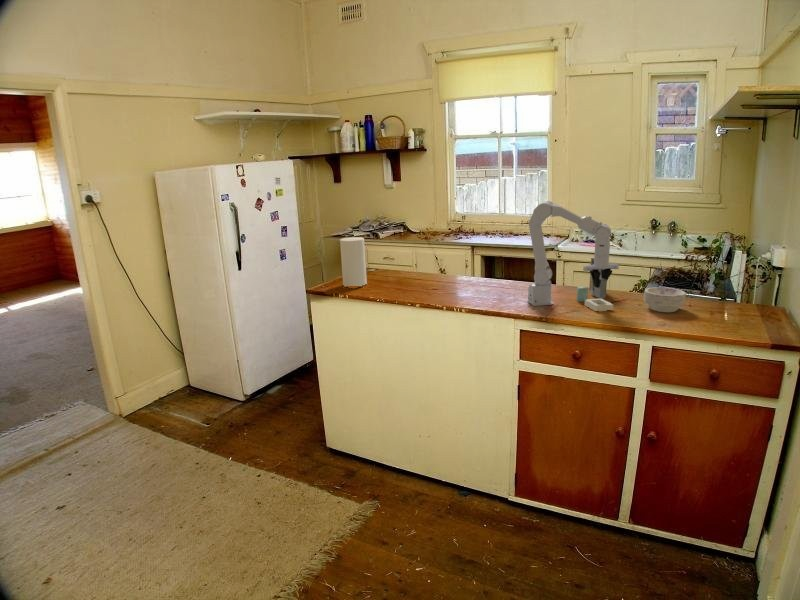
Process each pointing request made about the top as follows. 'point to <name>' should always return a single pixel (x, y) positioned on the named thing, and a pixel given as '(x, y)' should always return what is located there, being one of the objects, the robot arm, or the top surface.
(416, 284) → the top surface
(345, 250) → the cylinder
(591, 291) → the coffee box
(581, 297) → the grey upright block
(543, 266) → the robot arm
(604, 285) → the bar
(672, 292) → the light grey bowl
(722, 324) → the top surface
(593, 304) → the slot plate
